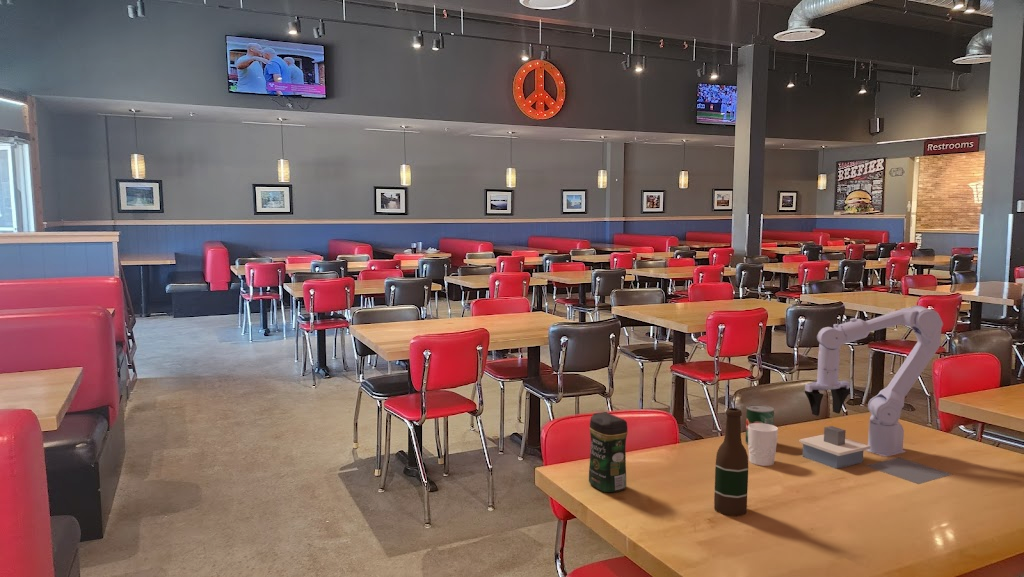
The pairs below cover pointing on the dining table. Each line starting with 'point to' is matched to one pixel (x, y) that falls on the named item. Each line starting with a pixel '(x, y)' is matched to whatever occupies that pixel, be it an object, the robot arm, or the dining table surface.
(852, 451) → the lid
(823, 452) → the open box
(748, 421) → the canned tomato
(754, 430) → the white cup
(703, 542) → the dining table surface
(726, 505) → the beer bottle
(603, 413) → the coffee jar
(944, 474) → the mat
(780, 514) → the dining table surface
